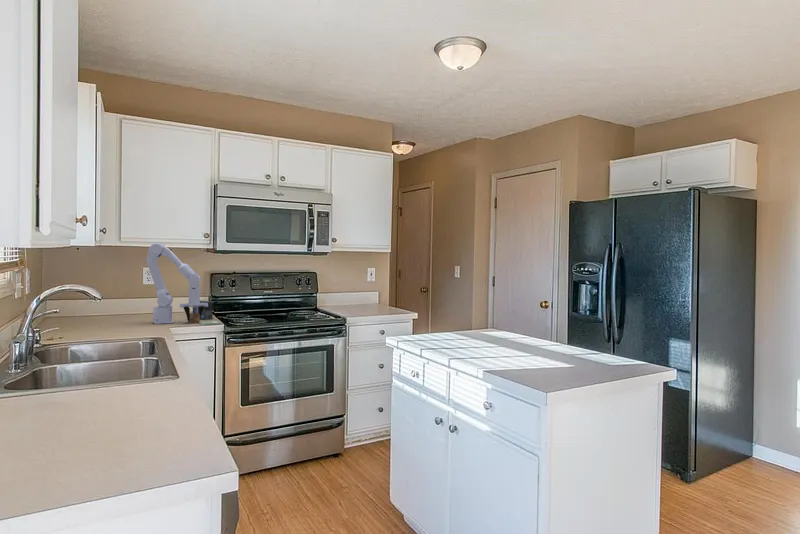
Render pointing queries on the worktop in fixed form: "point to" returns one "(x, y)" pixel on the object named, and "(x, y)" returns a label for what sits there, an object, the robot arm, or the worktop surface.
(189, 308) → the robot arm
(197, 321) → the walnut cube
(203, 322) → the plate
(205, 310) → the small box
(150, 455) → the worktop surface
